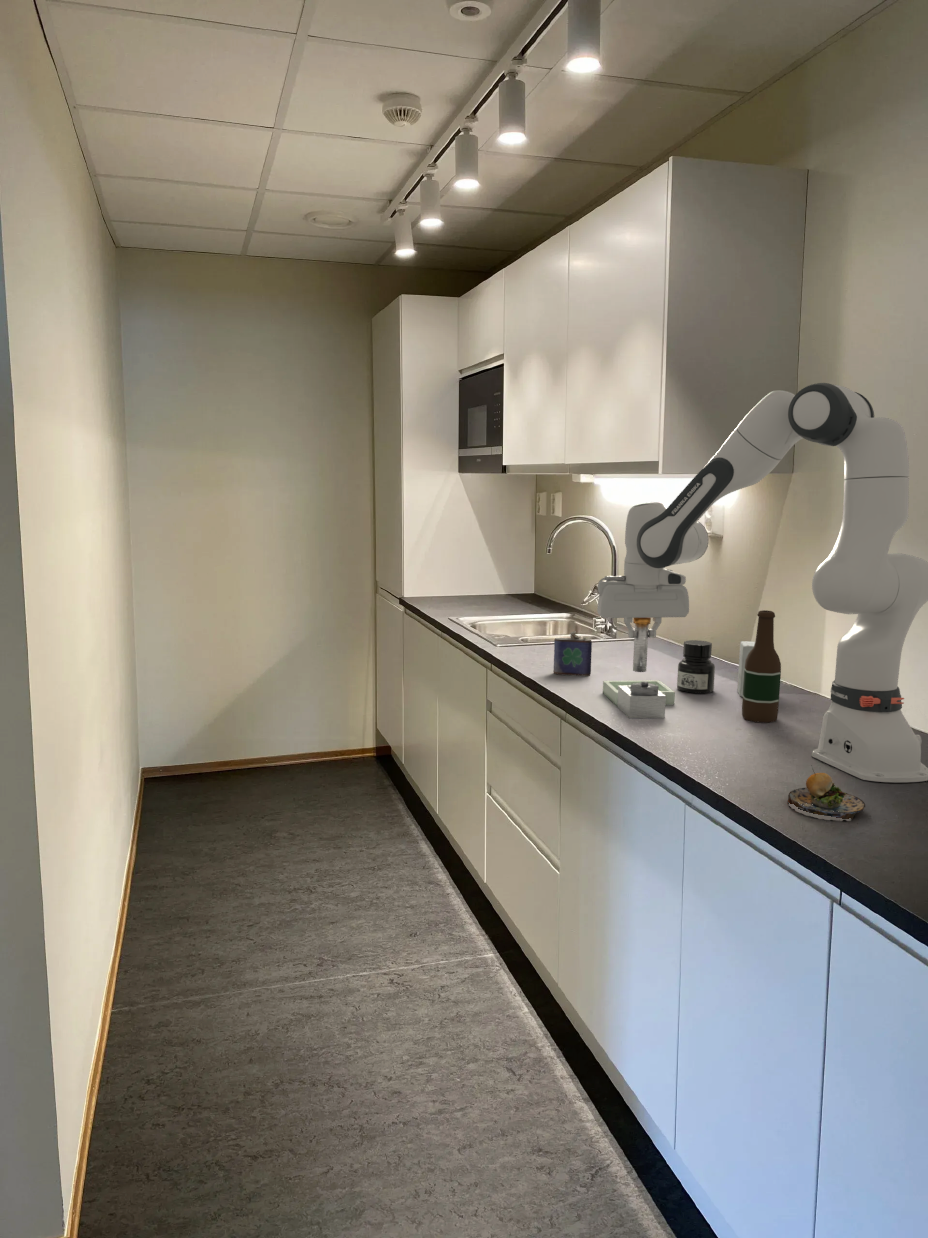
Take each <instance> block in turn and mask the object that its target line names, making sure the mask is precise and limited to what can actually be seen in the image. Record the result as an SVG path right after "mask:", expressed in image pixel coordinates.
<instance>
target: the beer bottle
mask: <svg viewBox="0 0 928 1238" xmlns="http://www.w3.org/2000/svg"><path fill="white" fill-rule="evenodd" d="M756 614H757V617H758V620H757V626H756V635H755V641H754V642H755V644H754V647H753V649H752V650H751V651H750V652H749V654H748V656H747V658H746V661H745V669H744V684H743V697H742V701H741V702H742V703H741V704H742V705H741V715H742V718H743V719H744V720H745V721H749V722H752V723H753V722H754V723H761V724H762V723H763V724H770V723H774V722H777V720H778V715H779V705H780V704H779V703H780V690H781V687H780V686H781V678H782V677H781V675H782V662H781V659H780V657H779V655H778V653H777V650H775V643H774V641H775V640H774V634H775V633H774V631H775V630H774V629H775V628H774V627H775V624H774V623H775V622H774V621H775V617H776V614H775V612H774V611H772V610H763V609H762V610H759V611H758V612H757V613H756Z"/></svg>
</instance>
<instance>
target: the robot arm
mask: <svg viewBox="0 0 928 1238" xmlns="http://www.w3.org/2000/svg"><path fill="white" fill-rule="evenodd" d="M874 411H875V410H874V408H873V406H872V404H871V402H870V401H869V400H868V399H867V398H866V397H865V396H864V395H862V394H861V393H859V392H856V391H853V390H852V389H850V388H848V387H846V386H843V385H839V384H832V383H828V382H817V383H811V384H809V385H807V386H804V387H803V388H801V389H800V390H799V391H798V392H797V393H796V394H794V393H793V392H790V391H787V390H779V389H777V390H773V391H770V392H769V393H767V395H765V396H764V397H762V399H761V400H759V401H758V402H757V404H756V405H755V406H753V408H752V409H750V411H749V412H748V413H747V414H746V415H745V416H744V417H743V419H742V420H741V421H740V422H739V423H738V424H737V426H736V427H735V428H734V430H733V431H732V432H731V433H730V435H729V436H728V437H727V439H726V440H725V441H724V443H723V444H722V445H721V447H720V448H719V449H718V451H716V453H715V454H714V455H713V456H712V457H711V458H710V459H709V460H708V462H707V463H706V464H705V465H704V467H702V469H701V470H700V471H699V472H698V473H696V475H695V476H694V477H693V478H692V479H691V481H689V483H688V484H687V485H686V486H685V487H684V489H683V490H682V491H680V493H679V494H678V495H677V496H676V497H675V499H674V500H673V501H672V502H671V503H670V504H669V506H668V507H667V506H666V505H665V504H664V503H663V502H660V501H651V502H643V503H638V504H635V505H634V506H631V507H630V509H629V510H628V513H627V517H626V522H625V534H624V544H625V549H626V550H625V551H626V553H625V557H624V560H623V561H624V563H623V575H615V576H613V575H605V576H604V577H602V578H601V579H600V580H599V581H598V583H597V593H598V600H597V609H596V610H597V611H596V612H597V614H598V615H599V617H601V618H602V619H623V622H624V624H625V626H626V628H627V629H628V631H627V632H628V634H627V635H628V638H629V639H634V638H637V635H636V634H637V630H636V629H635V628H633V627H632V624H631V623H633V618H651V619H652V622H653V624H652V625H651V628H648V639H649V638H650V639H651V638H656V636H657V630H658V629H659V627H660V625H661V624H662V621H663V620H662V618H686V617H687V616H688V614H689V612H690V597H689V591H688V589H687V587H686V586H685V584H686V581H687V578H686V576H685V575H684V574H681V573H679V572H675V571H673V570H672V569H668V568H666V567H670V566H673V565H681V564H687V563H691V562H694V561H698V560H699V559H700V558H702V557H703V556H704V555H705V553H706V552H707V550H708V547H709V546H708V545H709V533H708V531H707V529H706V527H705V526H704V525H703V524H702V522H700V521H699V520H701V518H702V517H703V516H704V515H705V514H706V512H707V511H708V510H710V508H711V507H712V506H713V505H714V504H715V503H716V502H717V501H719V500H720V499H722V498H723V497H725V496H727V495H729V494H731V493H733V492H736V491H739V490H742V489H744V488H748V487H752V486H754V485H757V484H758V483H759V482H761V481H762V480H763V479H764V478H766V477H767V476H768V475H769V474H770V473H771V472H772V471H773V470H774V469H775V468H776V467H777V466H778V464H779V463H780V462H781V461H782V460H783V459H784V457H785V456H786V454H787V453H788V452H789V451H790V450H791V449H792V447H794V445H795V444H796V443H797V442H799V441H801V440H805V441H806V440H807V441H808V442H811V443H816V444H819V445H822V446H826V447H827V446H828V447H837V448H838V449H839V450H840V452H841V453H842V456H843V465H844V471H843V474H844V476H843V502H842V503H843V504H842V517H841V518H842V519H841V524H840V527H839V528H840V529H839V533H838V534H837V535H838V536H837V538H836V539H835V540H836V541H835V543H834V545H833V547H832V549H831V552H829V554H828V556H827V557H826V558H825V560H823V562H821V563H820V564H819V565H818V566H817V568H816V569H815V571H814V573H813V576H812V580H811V581H812V582H811V587H812V588H811V589H812V594H813V596H814V599H815V601H816V602H817V604H818V605H819V606H820V607H821V608H823V609H824V610H827V611H829V612H834V613H839V614H844V615H857V616H856V619H855V621H854V623H853V624H852V626H851V627H850V629H849V630H848V631H847V632H846V633H845V634H844V635H843V636H841V638H840V639H839V640H838V644H837V647H836V648H837V649H836V658H835V659H836V660H835V672H834V673H835V674H834V680H833V681H831V682H832V683H831V687H830V700H831V701H832V702H831V704H830V706H829V708H828V709H827V710H826V711H825V713H824V714H823V717H822V721H821V722H822V723H821V729H820V735H819V741H818V746H817V748H815V749H813V750H812V753H811V757H813V758H815V759H816V760H818V761H821V762H823V763H824V764H825V763H826V764H828V765H830V766H832V767H835V768H836V769H838V770H841V771H843V772H845V773H847V774H849V775H851V776H854V777H856V778H858V779H861V780H864V781H870V782H878V783H879V782H881V783H919V782H920V783H921V782H925V781H926V782H927V781H928V767H927V765H925V764H924V763H922V762H921V760H922V747H921V746H922V736H921V735H920V734H916V733H915V732H914V730H913V729H912V727H911V725H910V723H909V722H908V721H907V719H906V717H905V715H904V714H903V712H902V708H903V704H905V702H903V701H904V700H905V698H904V697H902V695H901V691H900V690H901V689H900V687H899V686H898V684H899V675H900V667H901V659H902V651H903V647H904V643H905V641H906V637H907V635H908V633H909V630H910V627H911V625H912V623H913V621H914V620H915V618H916V616H917V614H918V612H919V611H920V609H921V608H922V607H924V605H925V604H926V603H927V602H928V561H927V560H926V559H924V558H921V557H919V556H915V555H911V554H907V553H900V552H897V553H893V552H892V553H889V549H890V547H891V544H892V541H893V539H894V537H895V535H896V534H897V532H898V531H899V530H900V529H901V528H902V527H904V526H905V525H906V523H907V521H908V519H909V502H910V501H909V498H910V496H909V495H910V460H909V459H910V458H909V449H908V443H907V437H906V433H905V428H904V427H903V426H902V424H900V422H898V421H897V420H894V419H892V418H889V417H875V412H874ZM902 700H903V701H902Z"/></svg>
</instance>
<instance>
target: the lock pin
mask: <svg viewBox="0 0 928 1238" xmlns="http://www.w3.org/2000/svg"><path fill="white" fill-rule="evenodd" d="M651 621H652V618H633V620H632V623H633V624H634V629H636V630H637V634H636V635H637V638H633V658H632V659H633V660H632V663H633V664H632V671H633V672H635V673H646V672H647V665H648V662H647V661H648V645H649V637H648V629H650V628H649V625H651Z"/></svg>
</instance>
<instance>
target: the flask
mask: <svg viewBox="0 0 928 1238" xmlns="http://www.w3.org/2000/svg"><path fill="white" fill-rule="evenodd" d="M576 633H577V631H576V630H575V631H570V632H569V634H570V635H569V637H555V638H554V640H553V641H554V646H553V647H554V650H553V652H554V653H553V674H554V675H560V676H562V675H564V676H576V677H577V676H582V677H583V676H584V677H590V676H591V673H592V652H593V650H592V649H593V648H592V647H593V642H592V639H590V638H586V637H585V636H579V635H577V634H576Z"/></svg>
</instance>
